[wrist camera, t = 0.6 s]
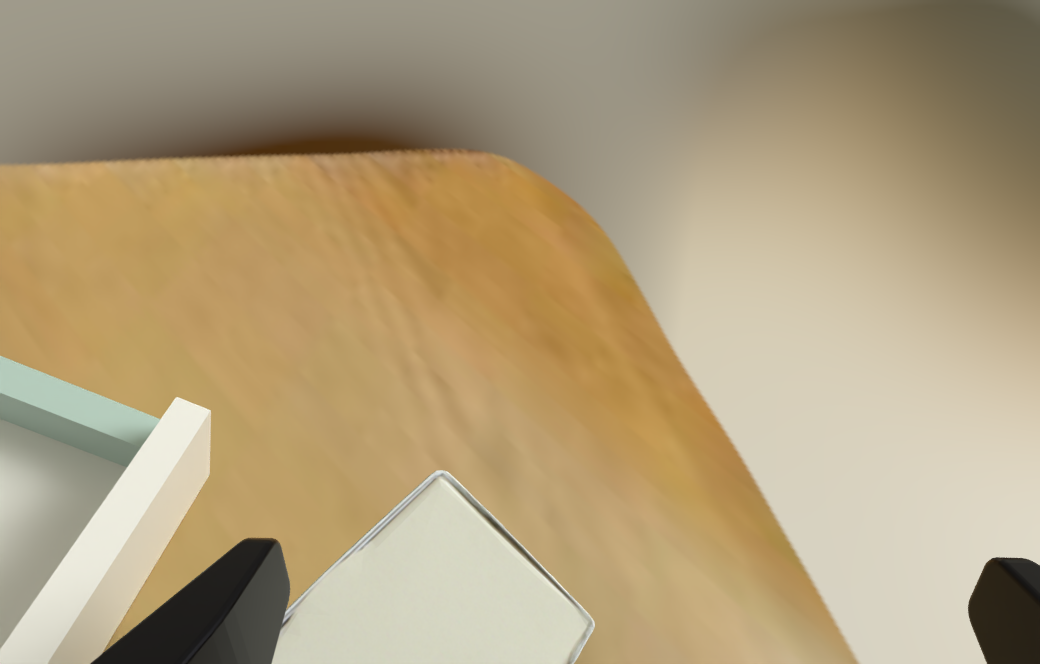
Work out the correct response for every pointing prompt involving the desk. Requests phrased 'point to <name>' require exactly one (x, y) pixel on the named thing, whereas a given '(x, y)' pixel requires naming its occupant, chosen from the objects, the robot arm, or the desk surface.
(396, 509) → the skincare box
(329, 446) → the desk surface
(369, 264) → the desk surface
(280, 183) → the desk surface
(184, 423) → the box
